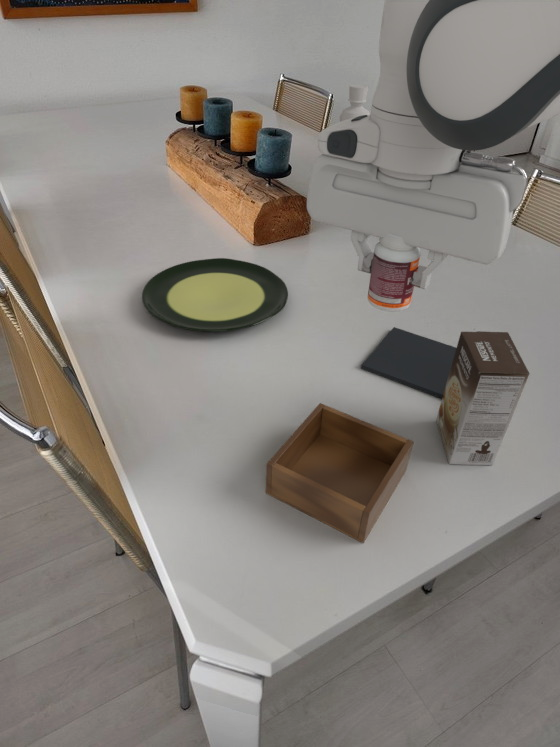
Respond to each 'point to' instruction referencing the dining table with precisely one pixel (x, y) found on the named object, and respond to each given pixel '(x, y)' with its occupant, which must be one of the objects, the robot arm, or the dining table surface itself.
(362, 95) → the bottle
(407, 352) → the mat
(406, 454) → the wooden box
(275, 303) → the plate
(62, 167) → the dining table surface
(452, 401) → the coffee box
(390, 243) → the pill bottle
